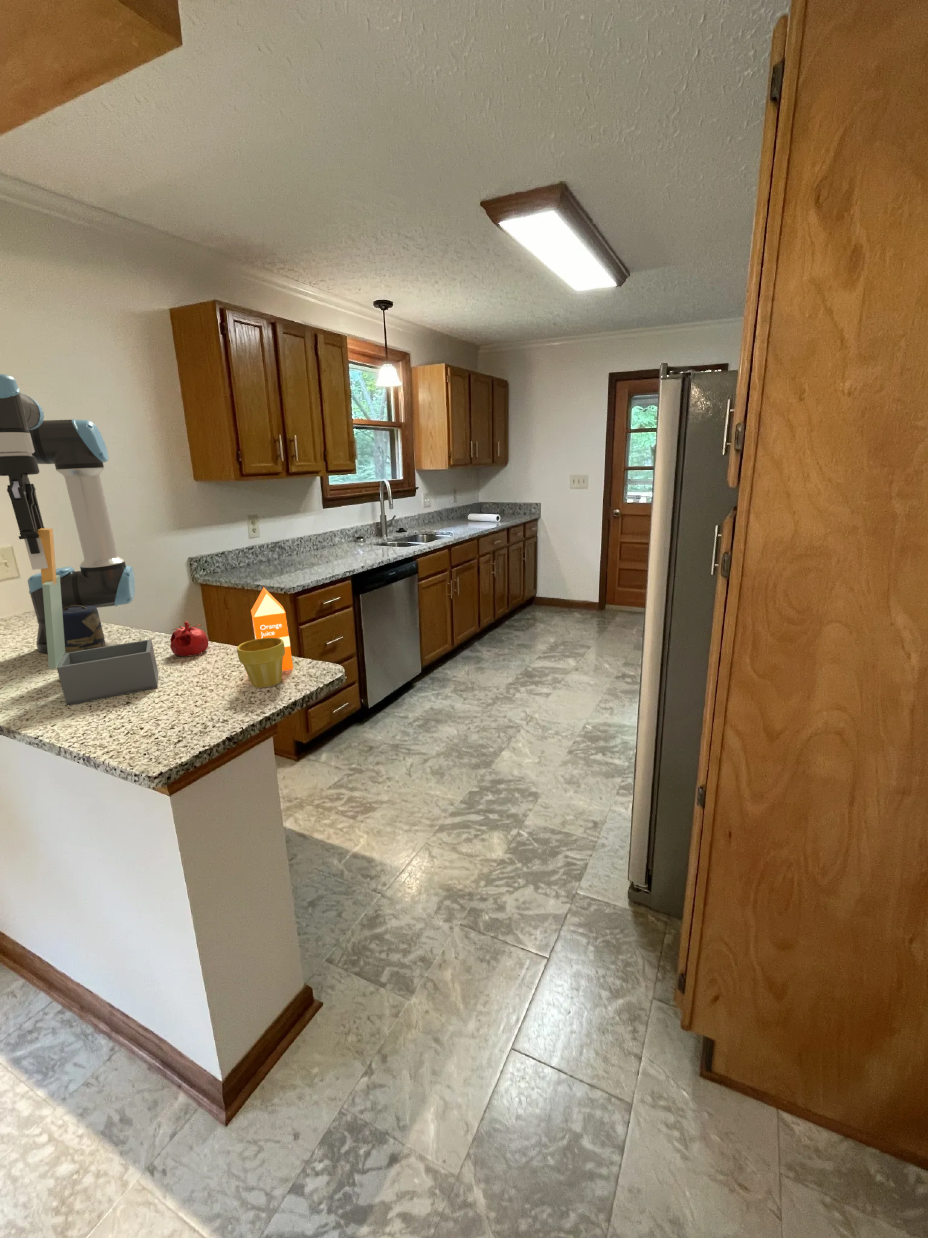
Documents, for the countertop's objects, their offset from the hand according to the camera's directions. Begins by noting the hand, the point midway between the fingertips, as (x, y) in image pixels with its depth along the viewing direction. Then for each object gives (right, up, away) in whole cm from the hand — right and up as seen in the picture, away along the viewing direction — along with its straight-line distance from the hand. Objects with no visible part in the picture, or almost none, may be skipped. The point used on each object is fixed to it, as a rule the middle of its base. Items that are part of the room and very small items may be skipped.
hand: (42, 566), depth 121 cm
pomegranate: (+15, -21, +35) cm, 44 cm away
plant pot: (+45, -27, +10) cm, 53 cm away
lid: (+1, -6, +2) cm, 7 cm away
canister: (-6, -25, +24) cm, 36 cm away
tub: (+9, -28, +12) cm, 31 cm away
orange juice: (+44, -24, +21) cm, 54 cm away
